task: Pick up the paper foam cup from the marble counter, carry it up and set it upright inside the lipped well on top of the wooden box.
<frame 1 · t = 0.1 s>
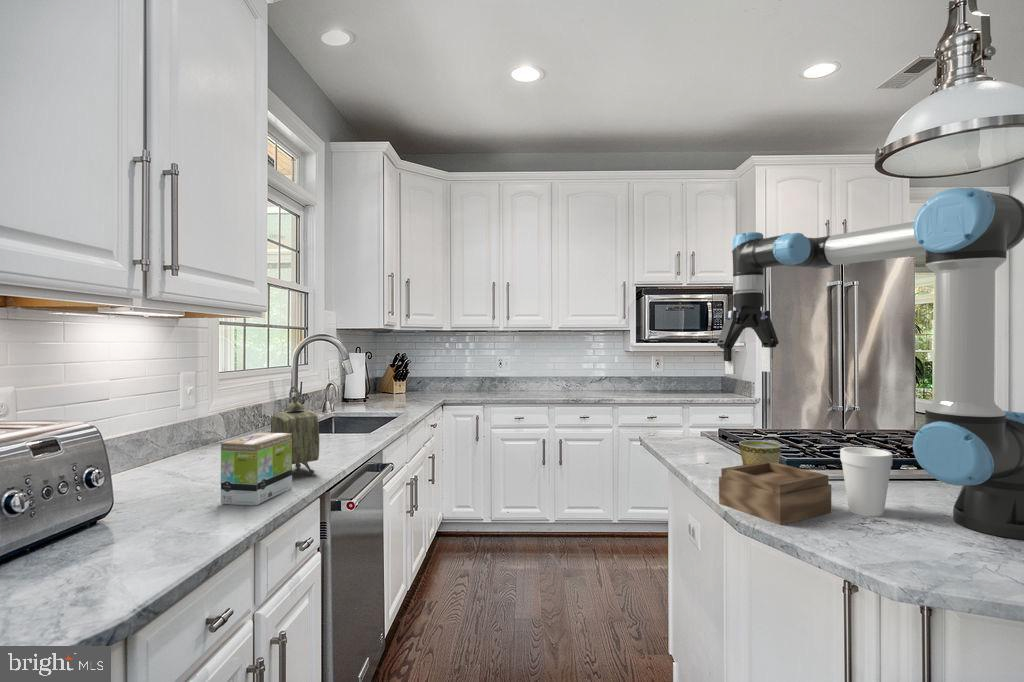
hand: (748, 372, 148), 28 cm above the countertop, fingers open, 13 cm apart
tea box: (258, 497, 138), on the countertop
wooden box: (773, 507, 123), on the countertop
foam cup: (865, 512, 120), on the countertop
ceramic cup: (763, 482, 145), on the countertop
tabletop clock: (294, 474, 159), on the countertop
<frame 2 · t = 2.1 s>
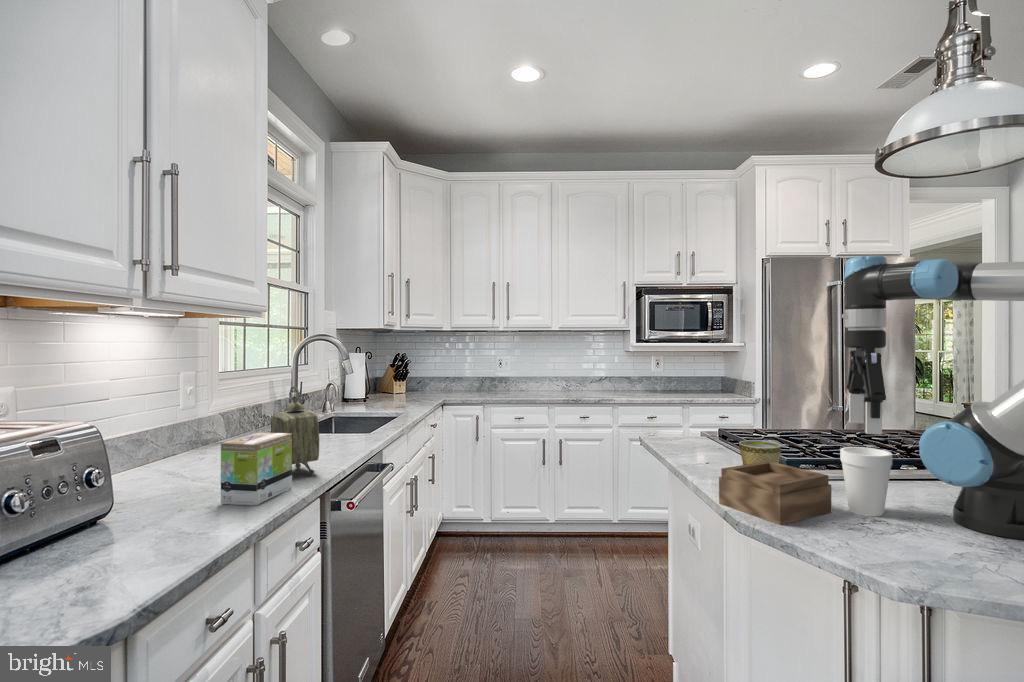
hand: (864, 428, 120), 18 cm above the countertop, fingers open, 13 cm apart
nothing on the countertop moved.
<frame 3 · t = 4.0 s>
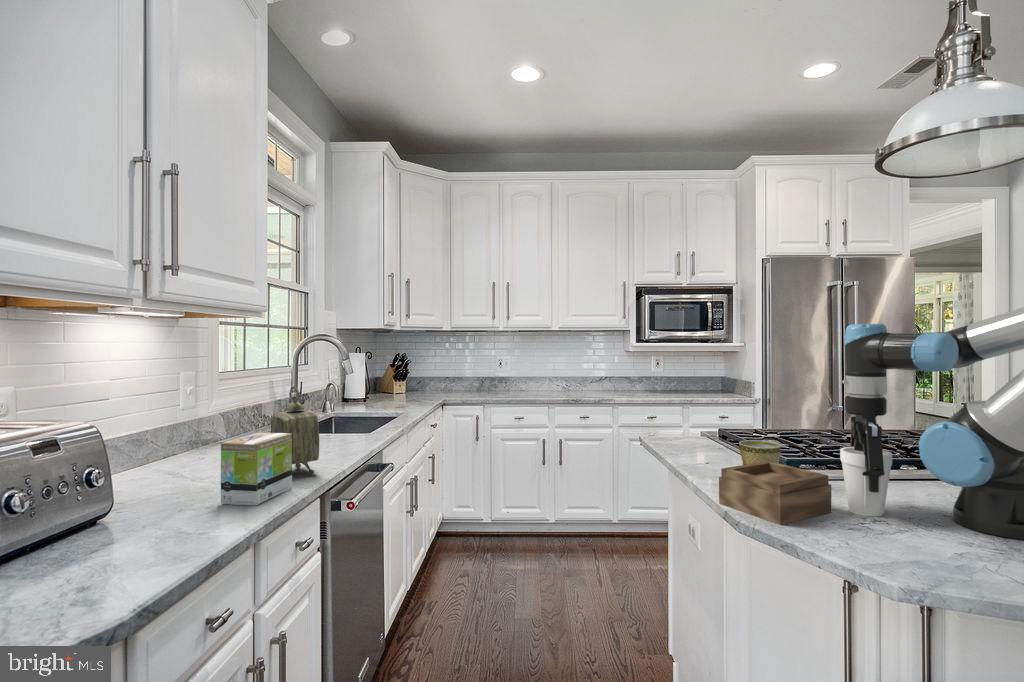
hand: (865, 499, 120), 3 cm above the countertop, fingers closed on foam cup, 9 cm apart
foam cup: (865, 512, 120), on the countertop, touching gripper
everything else where it was.
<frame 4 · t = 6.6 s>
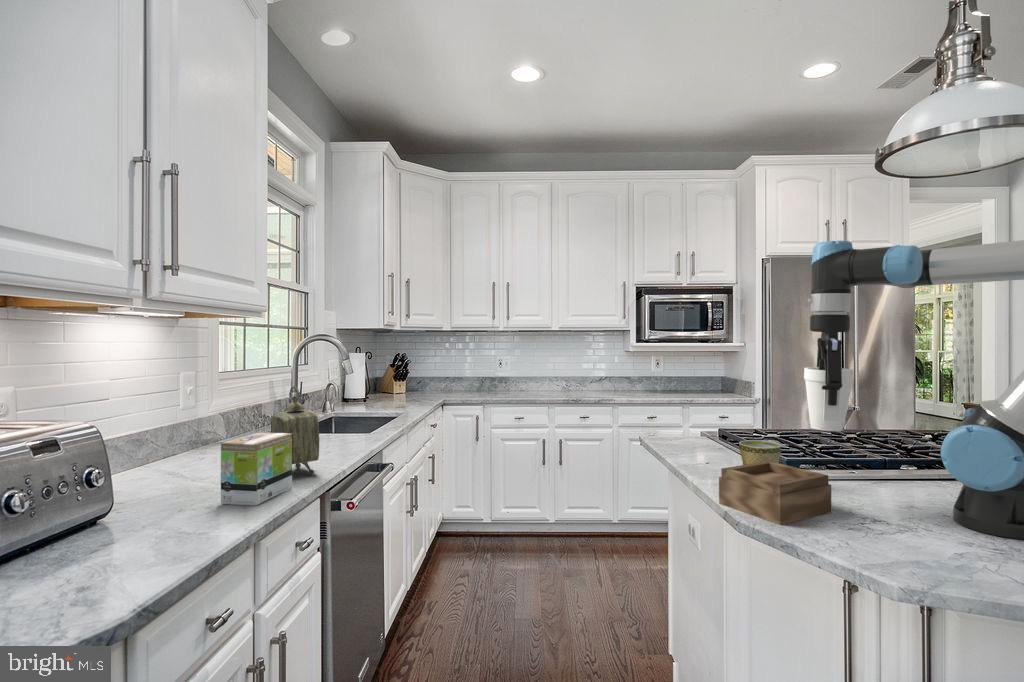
hand: (826, 416, 122), 20 cm above the countertop, fingers closed on foam cup, 9 cm apart
foam cup: (826, 429, 122), point 17 cm above the countertop, touching gripper
everything else where it was.
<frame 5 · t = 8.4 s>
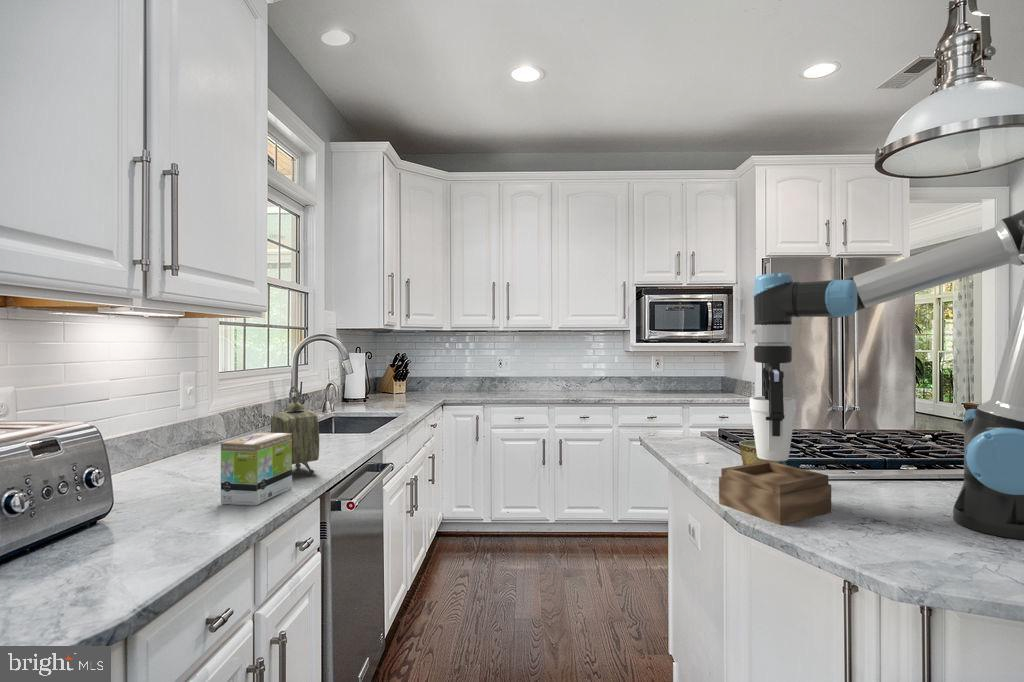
hand: (772, 446, 123), 14 cm above the countertop, fingers closed on foam cup, 9 cm apart
foam cup: (772, 458, 123), point 11 cm above the countertop, touching gripper
everything else where it was.
when the fingers open (11 cm above the countertop, at t = 9.5 s): foam cup drops 2 cm, resting on wooden box.
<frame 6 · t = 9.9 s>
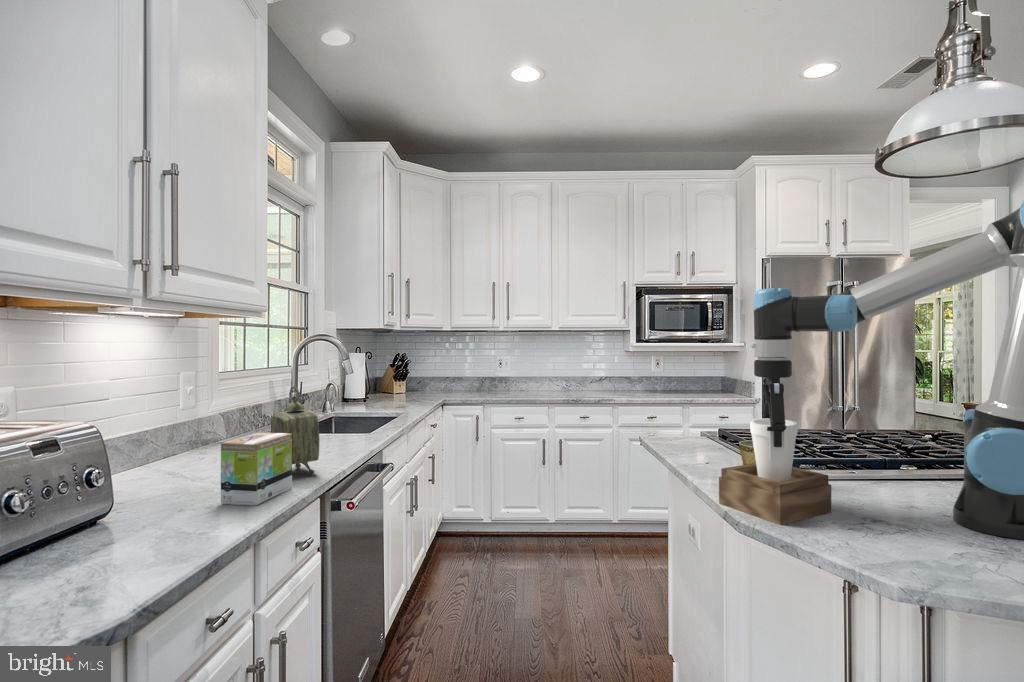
hand: (773, 455, 123), 12 cm above the countertop, fingers open, 13 cm apart
foam cup: (774, 481, 123), point 6 cm above the countertop, touching wooden box
everything else where it was.
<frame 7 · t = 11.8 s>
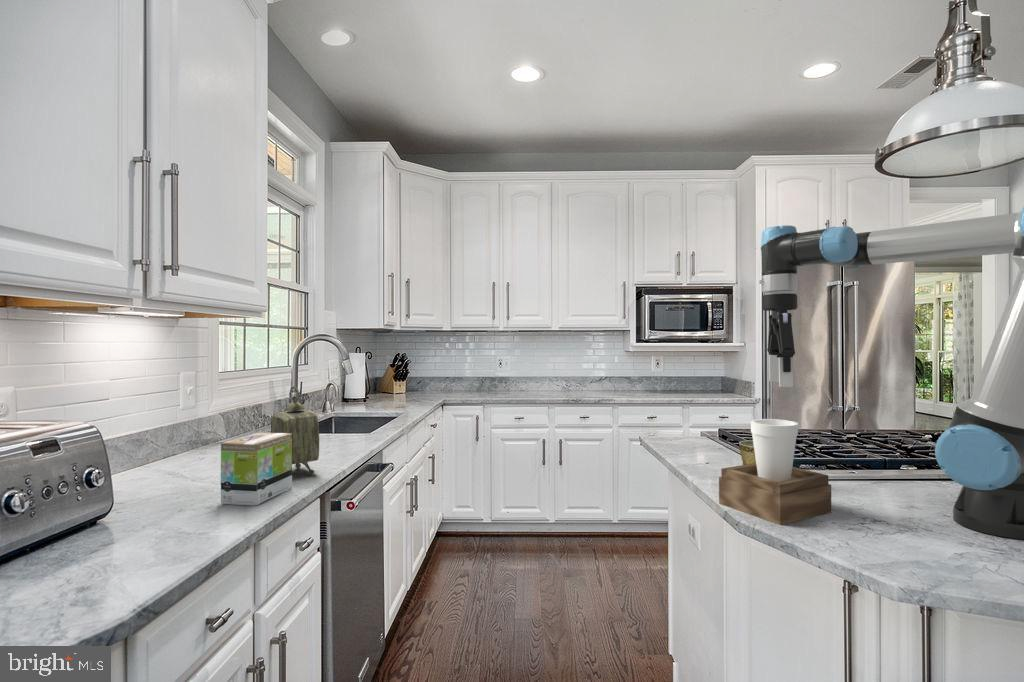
hand: (780, 384, 131), 27 cm above the countertop, fingers open, 13 cm apart
nothing on the countertop moved.
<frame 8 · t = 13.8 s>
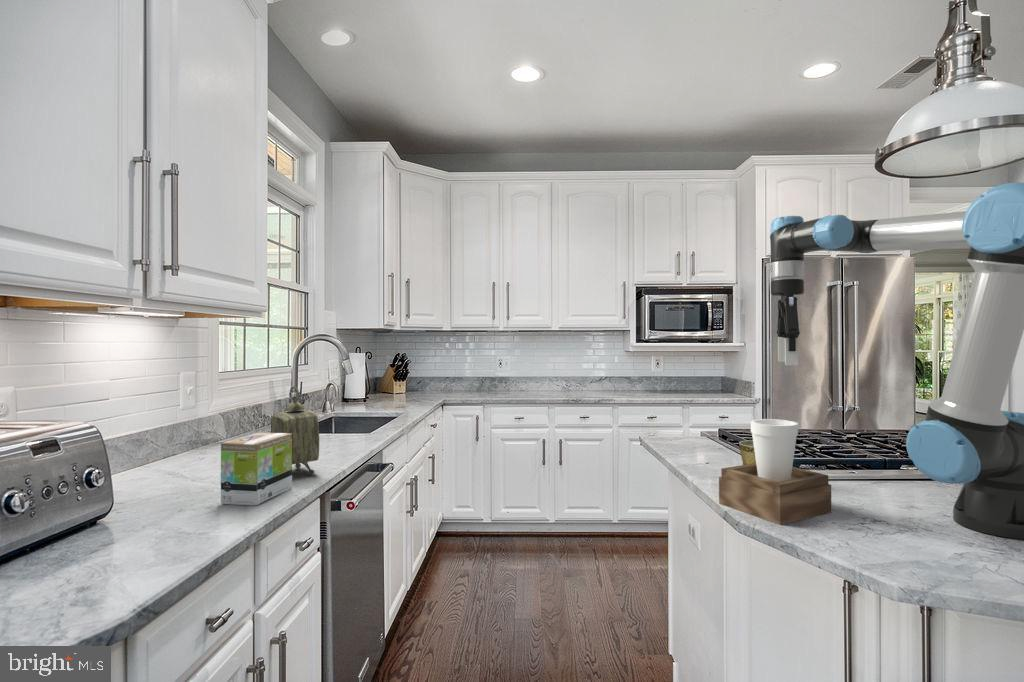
hand: (787, 363, 141), 31 cm above the countertop, fingers open, 13 cm apart
nothing on the countertop moved.
at the end: foam cup 0.3 cm off-centre on the wooden box, point 5.8 cm above the wooden box's base; foam cup tilted 0°; the gripper is holding nothing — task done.
